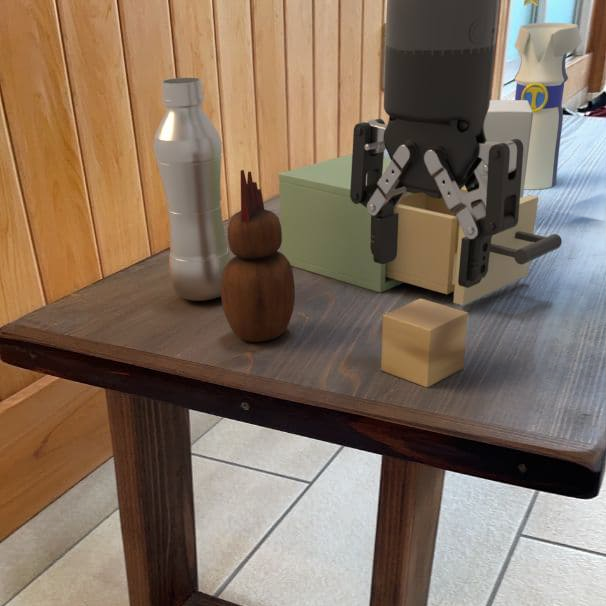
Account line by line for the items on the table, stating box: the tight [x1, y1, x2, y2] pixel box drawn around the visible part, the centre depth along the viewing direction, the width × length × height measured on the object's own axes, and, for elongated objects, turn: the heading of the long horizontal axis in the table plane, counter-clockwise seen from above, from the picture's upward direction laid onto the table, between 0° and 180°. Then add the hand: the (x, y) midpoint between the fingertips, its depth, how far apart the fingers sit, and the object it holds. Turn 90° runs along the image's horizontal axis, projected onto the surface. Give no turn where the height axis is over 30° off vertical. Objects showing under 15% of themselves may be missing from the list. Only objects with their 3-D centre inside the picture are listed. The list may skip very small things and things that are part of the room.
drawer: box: [385, 186, 563, 306], centre depth 86 cm, size 18×11×8 cm, turn 45°
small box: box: [477, 99, 533, 198], centre depth 104 cm, size 8×6×13 cm
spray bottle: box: [514, 0, 583, 190], centre depth 114 cm, size 8×9×25 cm
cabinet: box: [278, 153, 415, 293], centre depth 93 cm, size 15×13×10 cm
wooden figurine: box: [220, 169, 296, 343], centre depth 76 cm, size 7×6×15 cm
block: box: [380, 297, 469, 388], centre depth 71 cm, size 5×5×5 cm
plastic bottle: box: [152, 77, 232, 301], centre depth 83 cm, size 6×7×20 cm
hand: (425, 272), depth 68 cm, fingers open, 8 cm apart
